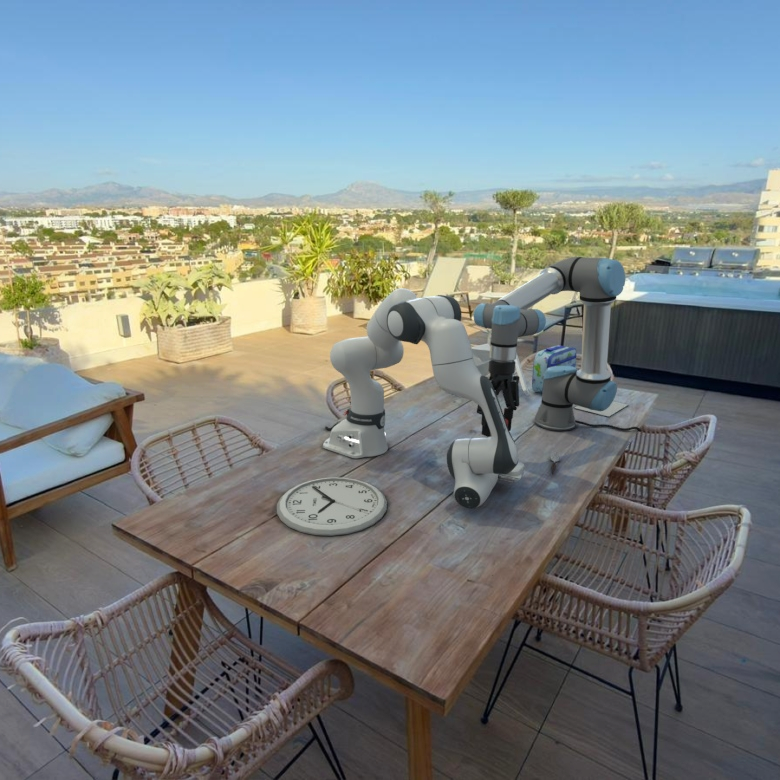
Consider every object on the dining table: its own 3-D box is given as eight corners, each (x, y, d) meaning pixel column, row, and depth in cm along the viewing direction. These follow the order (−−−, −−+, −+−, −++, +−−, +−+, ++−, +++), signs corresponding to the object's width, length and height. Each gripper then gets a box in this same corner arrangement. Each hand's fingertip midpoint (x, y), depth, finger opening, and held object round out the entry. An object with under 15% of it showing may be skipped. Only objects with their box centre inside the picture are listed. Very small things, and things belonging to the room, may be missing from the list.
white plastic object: (461, 429, 252) (437, 405, 227) (444, 352, 274) (420, 323, 250) (535, 404, 240) (518, 377, 215) (510, 326, 262) (492, 293, 237)
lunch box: (548, 398, 236) (553, 353, 229) (527, 393, 243) (531, 349, 237) (575, 387, 253) (581, 344, 247) (555, 382, 260) (560, 341, 254)
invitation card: (608, 416, 214) (573, 407, 224) (608, 416, 214) (573, 408, 224) (628, 404, 229) (594, 396, 238) (628, 405, 229) (594, 397, 238)
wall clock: (392, 527, 129) (268, 531, 127) (391, 533, 130) (269, 537, 127) (383, 473, 158) (282, 475, 155) (383, 478, 158) (282, 480, 156)
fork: (547, 475, 162) (548, 469, 162) (551, 455, 176) (551, 449, 176) (556, 476, 161) (557, 470, 161) (559, 456, 176) (560, 451, 175)
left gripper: (520, 471, 144) (529, 452, 156) (450, 457, 152) (464, 440, 164) (518, 491, 146) (527, 471, 158) (448, 476, 154) (462, 458, 166)
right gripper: (517, 352, 160) (511, 421, 167) (466, 361, 148) (462, 435, 155) (536, 357, 154) (529, 429, 161) (485, 367, 143) (479, 444, 149)
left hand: (494, 455), depth 161 cm, fingers closed on jar, 5 cm apart
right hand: (496, 432), depth 158 cm, fingers open, 8 cm apart
